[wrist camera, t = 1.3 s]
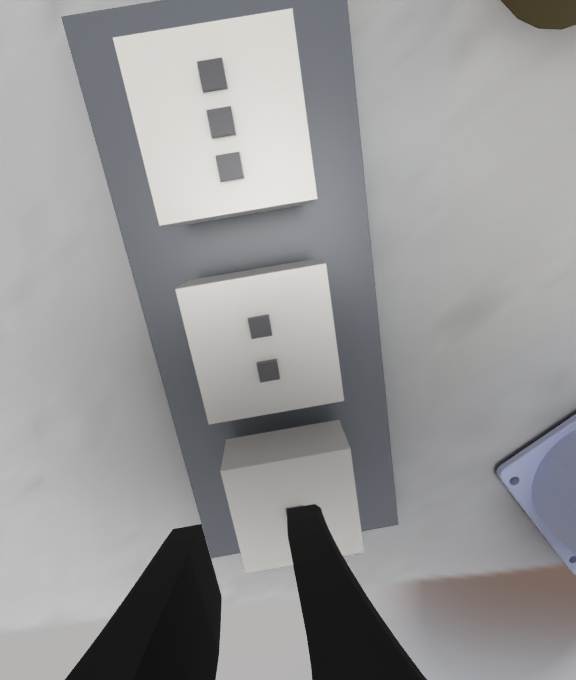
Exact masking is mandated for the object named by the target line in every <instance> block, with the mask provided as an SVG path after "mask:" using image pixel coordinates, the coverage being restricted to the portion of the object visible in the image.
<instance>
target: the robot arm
mask: <svg viewBox="0 0 576 680" xmlns="http://www.w3.org/2000/svg"><path fill="white" fill-rule="evenodd" d="M497 475H498V477H499V478H500V480H501V481H502V482H503V484H504V485H505V486H506V488H507V489H508V490H509V491H510V493H511V494H512V495H513V497H514V498H515V499H516V501H517V502H518V503H519V505H520V506H521V507H522V508H523V510H524V511H525V512H526V514H527V515H528V516H529V518H530V519H531V520H532V521H533V523H534V524H535V525H536V527H537V528H538V529H539V531H540V532H541V533H542V535H543V536H544V537H545V538H546V540H547V541H548V542H549V544H550V545H551V546H552V548H553V549H554V550H555V551H556V553H557V554H558V555H559V557H560V558H561V559H562V561H563V562H564V563H565V565H566V566H567V567H568V568H569V570H570V571H571V572H572V573H573V574H574V575H576V414H575V415H573V416H572V417H570V418H569V419H567V420H566V421H565V422H563V423H562V424H560V425H559V426H557V427H556V428H554V429H553V430H551V431H550V432H548V433H547V434H545V435H544V436H543V437H541V438H540V439H538V440H537V441H535V442H534V443H532V444H531V445H529V446H528V447H526V448H525V449H523V450H522V451H521V452H519V453H518V454H516V455H515V456H513V457H512V458H510V459H509V460H507V461H506V462H504V463H503V464H501V465H500V466H499V467H498V469H497ZM513 477H514V478H513ZM511 478H513V479H512V480H510V479H511ZM287 530H288V540H289V545H290V550H291V555H292V561H293V566H294V571H295V576H296V582H297V587H298V592H299V597H300V603H301V607H302V613H303V618H304V623H305V629H306V634H307V640H308V646H309V654H310V661H311V668H312V679H313V680H427V679H426V678H425V677H424V676H423V674H422V673H421V672H420V671H419V669H418V668H417V666H416V665H415V664H414V662H413V661H412V660H411V658H410V657H409V656H408V655H407V653H406V652H405V651H404V649H403V648H402V646H401V645H400V644H399V642H398V641H397V639H396V638H395V637H394V635H393V634H392V632H391V631H390V629H389V628H388V627H387V625H386V624H385V622H384V621H383V619H382V618H381V617H380V615H379V614H378V612H377V611H376V609H375V608H374V606H373V605H372V603H371V602H370V600H369V599H368V597H367V596H366V594H365V592H364V591H363V589H362V587H361V586H360V584H359V583H358V581H357V579H356V578H355V576H354V575H353V573H352V571H351V570H350V568H349V566H348V565H347V563H346V561H345V559H344V558H343V556H342V554H341V552H340V550H339V548H338V547H337V545H336V543H335V541H334V539H333V537H332V535H331V533H330V531H329V528H328V526H327V524H326V521H325V519H324V516H323V513H322V510H321V508H320V507H319V506H317V505H316V504H312V505H307V506H301V507H295V508H290V509H287ZM220 622H221V593H220V590H219V586H218V583H217V579H216V575H215V572H214V568H213V565H212V561H211V557H210V554H209V550H208V547H207V543H206V540H205V536H204V532H203V529H202V525H201V524H200V525H194V526H189V527H183V528H177V529H173V530H172V532H171V533H170V534H169V536H168V537H167V538H166V540H165V541H164V543H163V544H162V546H161V547H160V549H159V550H158V551H157V553H156V554H155V556H154V557H153V559H152V560H151V562H150V563H149V565H148V566H147V568H146V569H145V571H144V572H143V574H142V575H141V576H140V578H139V579H138V581H137V582H136V584H135V585H134V587H133V588H132V589H131V591H130V592H129V594H128V595H127V597H126V598H125V599H124V601H123V602H122V604H121V605H120V606H119V608H118V609H117V611H116V612H115V613H114V615H113V616H112V618H111V619H110V620H109V622H108V623H107V625H106V626H105V627H104V629H103V630H102V632H101V633H100V634H99V636H98V637H97V638H96V640H95V641H94V642H93V644H92V645H91V646H90V648H89V649H88V650H87V652H86V653H85V654H84V656H83V657H82V658H81V660H80V661H79V662H78V663H77V665H76V666H75V667H74V669H73V670H72V671H71V673H70V674H69V675H68V676H67V678H66V679H65V680H215V678H216V671H217V663H218V656H219V640H220Z"/></svg>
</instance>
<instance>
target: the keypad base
mask: <svg viewBox="0 0 576 680" xmlns="http://www.w3.org/2000/svg"><path fill="white" fill-rule="evenodd" d="M290 8H293V16H294V23H295V31H296V38H297V46H298V54H299V61H300V69H301V76H302V84H303V91H304V99H305V107H306V114H307V122H308V129H309V137H310V144H311V152H312V160H313V167H314V175H315V182H316V190H317V197H318V199H317V200H315V201H314V202H312V203H310V204H306V205H300V206H294V207H289V208H283V209H277V210H271V211H265V212H259V213H253V214H247V215H241V216H235V217H230V218H224V219H218V220H212V221H206V222H200V223H194V224H188V225H182V226H176V227H174V226H159V223H158V219H157V215H156V211H155V207H154V203H153V198H152V194H151V190H150V186H149V182H148V178H147V174H146V170H145V166H144V162H143V158H142V154H141V150H140V146H139V142H138V138H137V134H136V130H135V126H134V122H133V118H132V114H131V110H130V106H129V102H128V98H127V94H126V90H125V86H124V82H123V78H122V74H121V70H120V66H119V62H118V58H117V54H116V50H115V46H114V42H113V37H119V36H125V35H131V34H137V33H143V32H149V31H156V30H162V29H168V28H174V27H180V26H186V25H192V24H198V23H204V22H211V21H217V20H223V19H229V18H235V17H241V16H247V15H253V14H260V13H266V12H272V11H278V10H284V9H290ZM61 18H62V21H63V25H64V28H65V32H66V36H67V39H68V43H69V46H70V50H71V54H72V57H73V61H74V65H75V68H76V72H77V75H78V79H79V83H80V86H81V90H82V93H83V97H84V101H85V104H86V108H87V111H88V115H89V119H90V122H91V126H92V129H93V133H94V137H95V140H96V144H97V147H98V151H99V155H100V158H101V162H102V165H103V169H104V173H105V176H106V180H107V184H108V187H109V191H110V194H111V198H112V202H113V205H114V209H115V212H116V216H117V220H118V223H119V227H120V230H121V234H122V238H123V241H124V245H125V248H126V252H127V256H128V259H129V263H130V266H131V270H132V274H133V277H134V281H135V284H136V288H137V292H138V295H139V299H140V303H141V306H142V310H143V313H144V317H145V321H146V324H147V328H148V331H149V335H150V339H151V342H152V346H153V349H154V353H155V357H156V360H157V364H158V367H159V371H160V375H161V378H162V382H163V385H164V389H165V393H166V396H167V400H168V403H169V407H170V411H171V414H172V418H173V422H174V425H175V429H176V432H177V436H178V440H179V443H180V447H181V450H182V454H183V458H184V461H185V465H186V468H187V472H188V476H189V479H190V483H191V486H192V490H193V494H194V497H195V501H196V504H197V508H198V512H199V515H200V519H201V522H202V526H203V530H204V533H205V537H206V541H207V544H208V548H209V551H210V555H211V558H214V557H220V556H226V555H231V554H237V553H240V549H239V545H238V541H237V537H236V533H235V529H234V525H233V521H232V517H231V513H230V509H229V505H228V501H227V497H226V493H225V488H224V484H223V480H222V476H221V472H220V470H221V465H222V459H223V454H224V449H225V443H226V439H231V438H237V437H243V436H248V435H254V434H260V433H265V432H271V431H277V430H282V429H288V428H294V427H300V426H305V425H311V424H317V423H322V422H328V421H334V420H340V423H341V425H342V428H343V431H344V433H345V436H346V438H347V441H348V443H349V446H350V448H351V456H352V463H353V471H354V478H355V486H356V493H357V501H358V509H359V516H360V524H361V531H365V530H371V529H377V528H382V527H388V526H393V525H398V517H397V507H396V497H395V487H394V476H393V466H392V456H391V446H390V435H389V425H388V415H387V405H386V394H385V384H384V374H383V364H382V353H381V343H380V333H379V323H378V312H377V302H376V292H375V282H374V271H373V261H372V251H371V241H370V230H369V220H368V210H367V200H366V189H365V179H364V169H363V159H362V148H361V138H360V128H359V118H358V107H357V97H356V87H355V77H354V66H353V56H352V46H351V36H350V25H349V15H348V5H347V0H161V1H155V2H149V3H143V4H137V5H131V6H125V7H118V8H112V9H106V10H100V11H94V12H88V13H82V14H75V15H69V16H63V17H61ZM316 258H317V259H319V260H321V261H323V262H325V263H326V266H327V274H328V281H329V289H330V296H331V304H332V311H333V319H334V327H335V334H336V342H337V349H338V357H339V364H340V372H341V380H342V387H343V395H344V401H341V402H336V403H330V404H324V405H318V406H313V407H307V408H301V409H296V410H290V411H284V412H278V413H273V414H267V415H261V416H256V417H250V418H244V419H238V420H233V421H227V422H221V423H216V424H210V425H209V424H208V420H207V416H206V412H205V408H204V404H203V400H202V396H201V392H200V388H199V384H198V380H197V376H196V372H195V368H194V364H193V360H192V356H191V352H190V348H189V344H188V339H187V335H186V331H185V327H184V323H183V319H182V315H181V311H180V307H179V303H178V299H177V295H176V291H175V289H176V288H177V287H179V286H180V285H182V284H184V283H185V282H187V281H188V280H193V279H199V278H205V277H210V276H216V275H222V274H228V273H234V272H240V271H246V270H251V269H257V268H263V267H269V266H275V265H281V264H287V263H292V262H298V261H304V260H310V259H316Z"/></svg>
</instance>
